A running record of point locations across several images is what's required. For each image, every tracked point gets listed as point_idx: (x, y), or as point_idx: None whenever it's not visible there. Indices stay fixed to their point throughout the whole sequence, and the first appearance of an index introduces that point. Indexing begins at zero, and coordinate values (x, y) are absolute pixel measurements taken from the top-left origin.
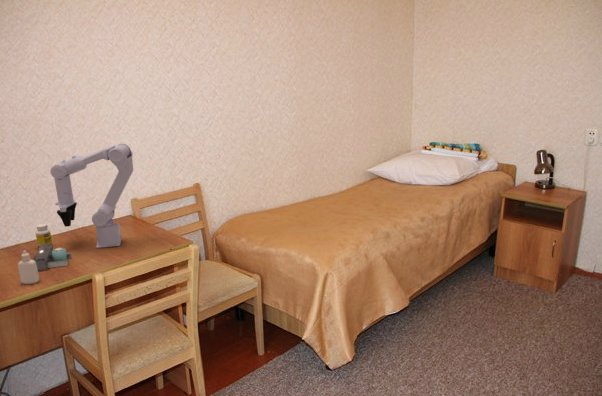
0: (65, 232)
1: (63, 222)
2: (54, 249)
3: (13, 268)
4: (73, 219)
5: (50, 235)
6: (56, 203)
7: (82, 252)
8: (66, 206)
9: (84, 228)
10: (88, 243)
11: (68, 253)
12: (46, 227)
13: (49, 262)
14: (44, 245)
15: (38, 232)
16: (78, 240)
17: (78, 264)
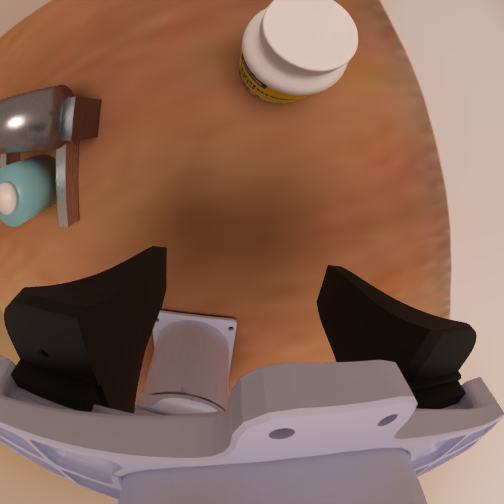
0: (438, 175)
1: (129, 261)
2: (20, 172)
3: (59, 13)
4: (319, 303)
5: (279, 96)
6: (265, 436)
7: (121, 258)
8: (39, 459)
9: (437, 252)
10: (231, 278)
11: (61, 217)
12: (282, 66)
13: (2, 156)
14: (21, 120)
15: (257, 16)
16: (300, 232)
17: (24, 249)
